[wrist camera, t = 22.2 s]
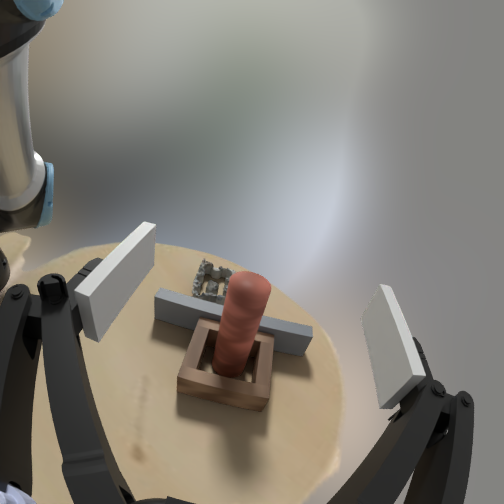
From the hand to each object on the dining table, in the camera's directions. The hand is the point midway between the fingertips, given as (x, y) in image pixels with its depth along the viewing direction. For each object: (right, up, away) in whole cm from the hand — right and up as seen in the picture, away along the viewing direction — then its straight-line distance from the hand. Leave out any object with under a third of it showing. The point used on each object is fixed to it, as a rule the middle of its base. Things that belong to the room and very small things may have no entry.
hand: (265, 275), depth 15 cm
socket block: (-5, -16, +24) cm, 30 cm away
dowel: (-4, -16, +25) cm, 30 cm away
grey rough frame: (-9, -7, +40) cm, 42 cm away
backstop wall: (-5, -13, +31) cm, 34 cm away
